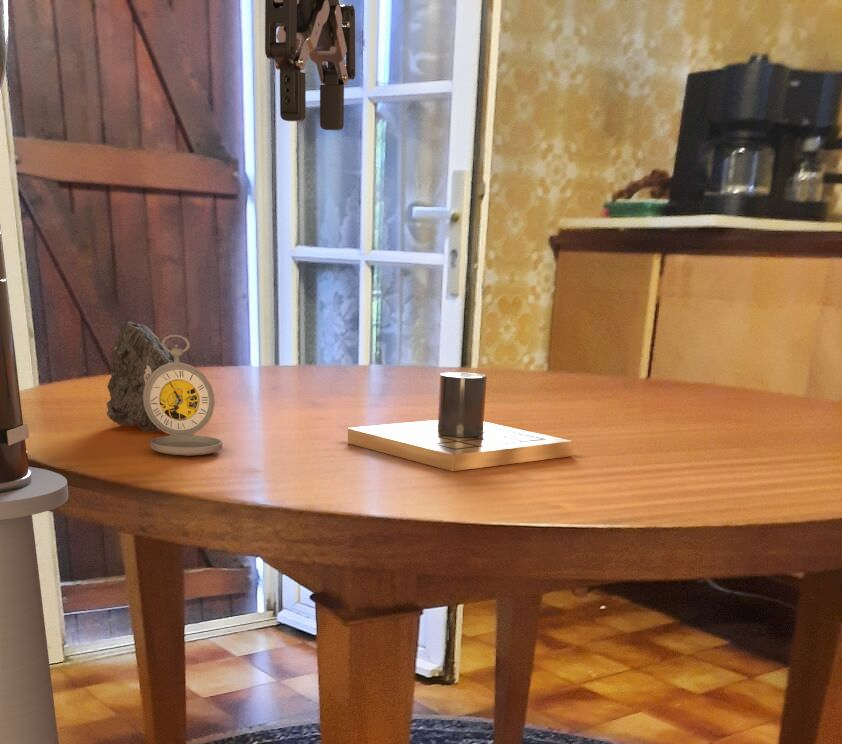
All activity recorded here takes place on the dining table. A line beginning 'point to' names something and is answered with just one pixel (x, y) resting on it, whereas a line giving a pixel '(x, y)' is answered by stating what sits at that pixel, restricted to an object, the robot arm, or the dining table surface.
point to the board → (459, 445)
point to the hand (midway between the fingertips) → (313, 125)
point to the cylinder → (461, 404)
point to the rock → (136, 375)
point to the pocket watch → (180, 406)
